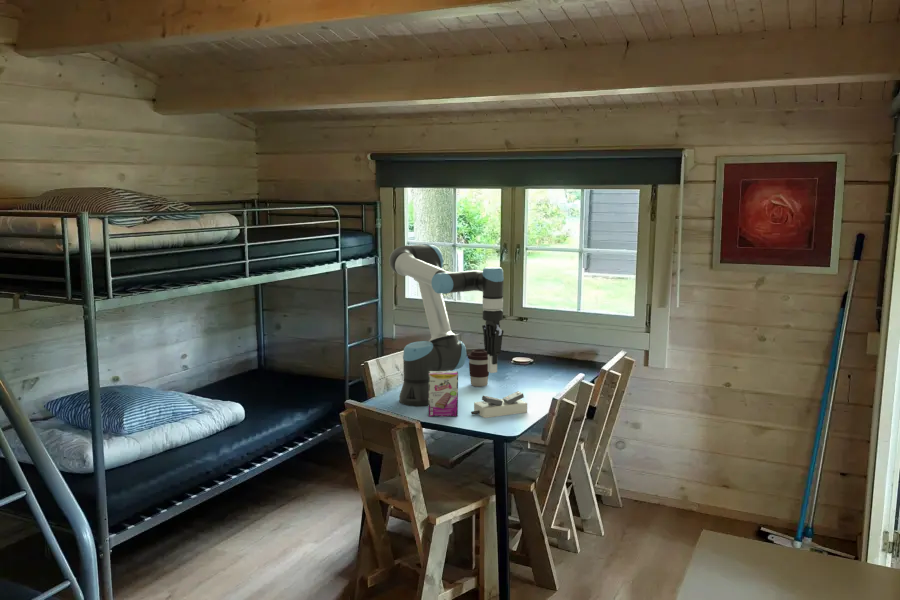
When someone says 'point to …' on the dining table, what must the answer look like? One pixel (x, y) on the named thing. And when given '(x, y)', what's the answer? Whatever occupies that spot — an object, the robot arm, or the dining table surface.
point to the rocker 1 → (492, 400)
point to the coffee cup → (478, 367)
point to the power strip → (499, 408)
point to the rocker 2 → (513, 397)
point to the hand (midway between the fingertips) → (492, 371)
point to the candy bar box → (443, 393)
